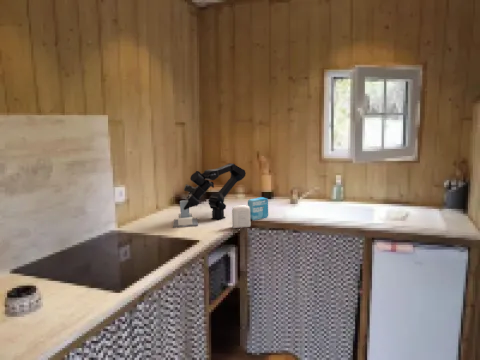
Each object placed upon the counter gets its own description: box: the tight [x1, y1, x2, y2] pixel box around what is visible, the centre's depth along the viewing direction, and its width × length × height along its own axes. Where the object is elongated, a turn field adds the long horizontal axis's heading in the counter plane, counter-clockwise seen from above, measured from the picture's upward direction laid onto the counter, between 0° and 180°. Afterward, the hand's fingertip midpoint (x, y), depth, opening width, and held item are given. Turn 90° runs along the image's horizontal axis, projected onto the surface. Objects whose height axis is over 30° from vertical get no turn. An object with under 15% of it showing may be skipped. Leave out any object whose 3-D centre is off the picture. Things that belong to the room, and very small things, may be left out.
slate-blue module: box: [179, 199, 190, 218], centre depth 224 cm, size 5×4×11 cm
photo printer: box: [231, 204, 251, 229], centre depth 214 cm, size 10×4×12 cm, turn 101°
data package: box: [247, 196, 269, 221], centre depth 231 cm, size 12×4×12 cm, turn 123°
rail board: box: [172, 212, 199, 228], centre depth 225 cm, size 14×15×4 cm
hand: (184, 208), depth 224 cm, fingers closed on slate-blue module, 4 cm apart
